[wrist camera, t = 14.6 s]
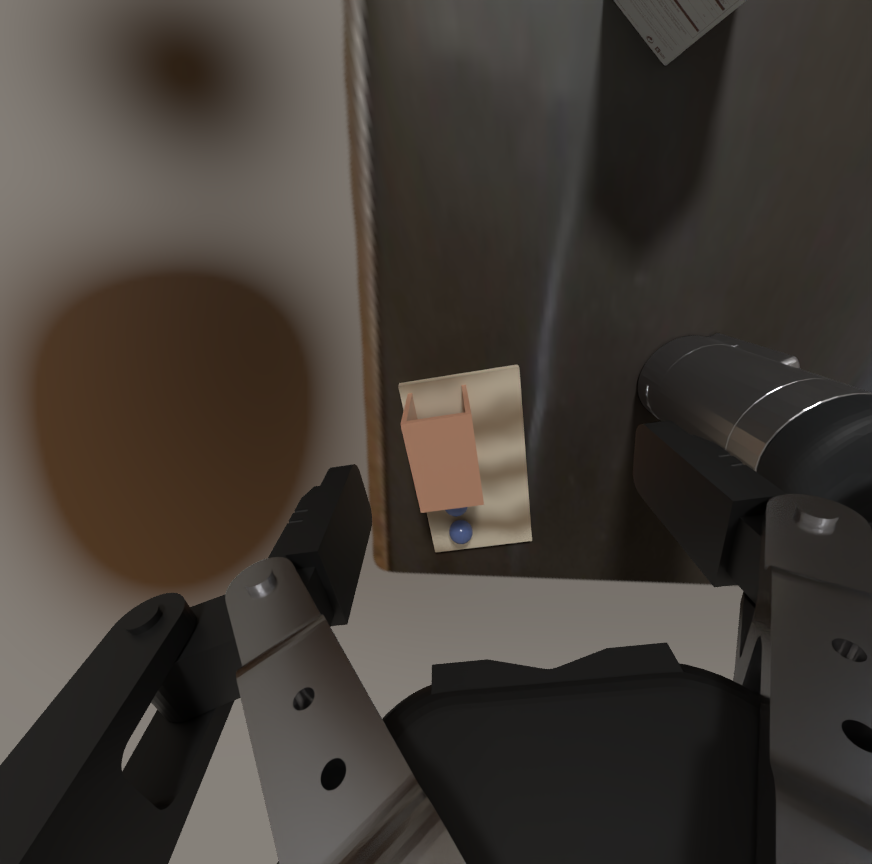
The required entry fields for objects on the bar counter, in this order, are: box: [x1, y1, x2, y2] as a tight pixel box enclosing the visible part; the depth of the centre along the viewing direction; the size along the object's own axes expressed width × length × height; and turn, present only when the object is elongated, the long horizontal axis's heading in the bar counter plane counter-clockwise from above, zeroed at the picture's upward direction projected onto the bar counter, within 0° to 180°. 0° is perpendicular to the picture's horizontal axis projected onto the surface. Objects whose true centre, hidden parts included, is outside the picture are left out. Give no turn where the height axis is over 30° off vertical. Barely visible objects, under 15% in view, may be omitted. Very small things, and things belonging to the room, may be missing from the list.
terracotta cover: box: [401, 385, 484, 513], centre depth 39 cm, size 10×6×8 cm, turn 10°
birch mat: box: [398, 365, 532, 552], centre depth 45 cm, size 24×13×1 cm, turn 10°
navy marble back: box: [449, 520, 473, 544], centre depth 47 cm, size 3×3×3 cm
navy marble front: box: [445, 507, 468, 517], centre depth 45 cm, size 3×3×3 cm
